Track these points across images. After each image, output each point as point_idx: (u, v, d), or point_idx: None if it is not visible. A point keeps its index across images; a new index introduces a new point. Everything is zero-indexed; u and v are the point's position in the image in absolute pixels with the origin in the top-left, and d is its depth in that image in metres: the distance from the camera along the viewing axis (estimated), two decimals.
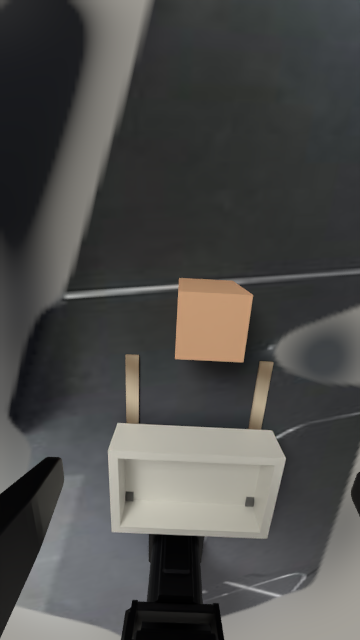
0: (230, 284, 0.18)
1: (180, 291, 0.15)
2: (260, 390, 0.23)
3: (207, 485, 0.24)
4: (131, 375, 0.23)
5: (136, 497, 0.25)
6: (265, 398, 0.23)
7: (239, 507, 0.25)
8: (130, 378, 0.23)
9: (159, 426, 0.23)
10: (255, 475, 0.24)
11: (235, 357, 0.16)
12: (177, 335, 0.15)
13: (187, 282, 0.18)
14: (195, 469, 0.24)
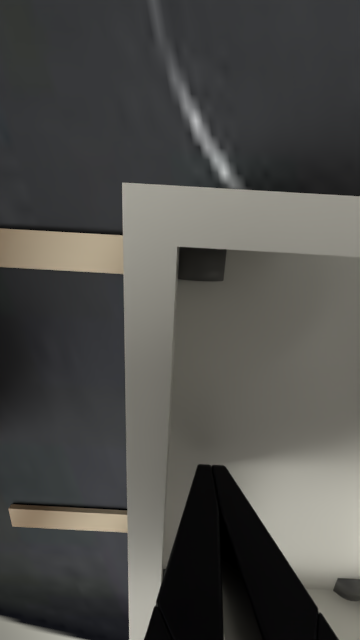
0: None
1: None
2: (44, 255, 0.08)
3: (358, 422, 0.07)
4: (54, 520, 0.11)
5: (359, 574, 0.10)
6: (68, 236, 0.08)
7: None
8: (60, 522, 0.12)
9: None
10: (340, 265, 0.06)
11: None
12: None
13: None
14: (283, 453, 0.08)
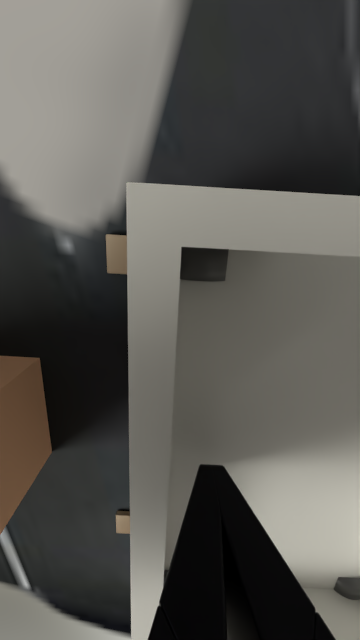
0: None
1: None
2: None
3: (359, 422, 0.07)
4: None
5: (359, 573, 0.10)
6: None
7: None
8: None
9: None
10: (341, 266, 0.06)
11: None
12: None
13: None
14: (284, 453, 0.08)
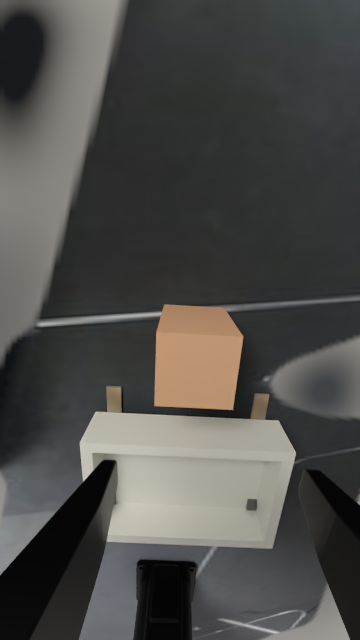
0: (220, 315, 0.16)
1: (159, 332, 0.13)
2: None
3: (202, 486, 0.21)
4: (114, 408, 0.21)
5: (119, 499, 0.21)
6: None
7: (239, 511, 0.21)
8: (112, 411, 0.21)
9: (144, 415, 0.19)
10: (258, 473, 0.20)
11: (223, 404, 0.14)
12: (156, 380, 0.13)
13: (171, 313, 0.16)
14: (188, 466, 0.20)
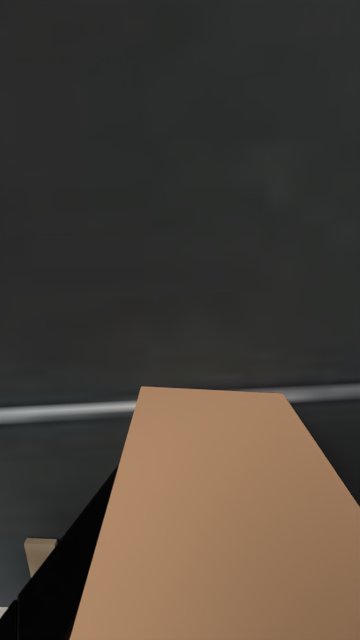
0: (293, 446, 0.06)
1: None
2: None
3: None
4: None
5: None
6: None
7: None
8: None
9: None
10: None
11: None
12: None
13: (153, 445, 0.05)
14: None
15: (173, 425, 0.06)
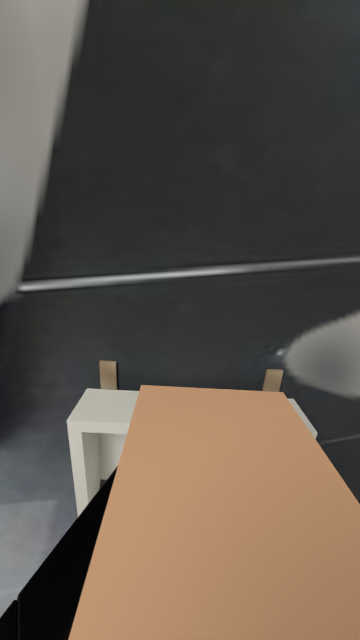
0: (293, 444, 0.06)
1: None
2: None
3: None
4: (108, 386, 0.18)
5: None
6: None
7: None
8: None
9: None
10: None
11: None
12: None
13: (152, 443, 0.05)
14: None
15: (173, 423, 0.06)
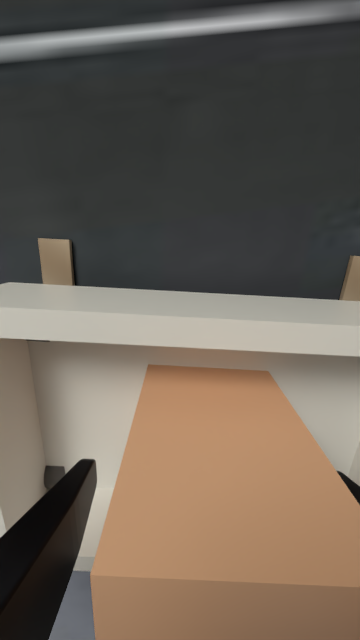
0: (272, 406, 0.07)
1: (101, 567, 0.03)
2: None
3: None
4: None
5: None
6: None
7: None
8: None
9: (118, 289, 0.09)
10: (358, 423, 0.10)
11: None
12: None
13: (159, 404, 0.07)
14: None
15: (175, 391, 0.07)
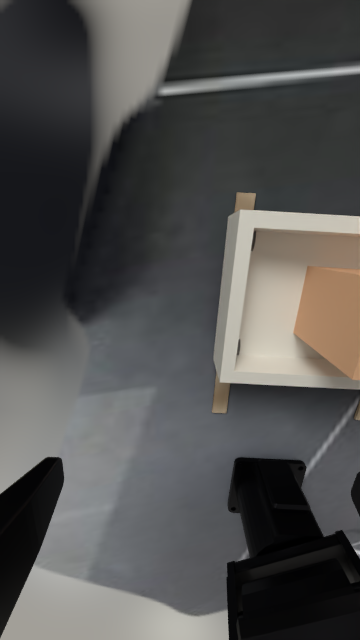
0: None
1: None
2: None
3: None
4: None
5: (243, 349, 0.17)
6: None
7: None
8: None
9: None
10: None
11: None
12: None
13: (340, 270, 0.13)
14: None
15: (340, 269, 0.14)
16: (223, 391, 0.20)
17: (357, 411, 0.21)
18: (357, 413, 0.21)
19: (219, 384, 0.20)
